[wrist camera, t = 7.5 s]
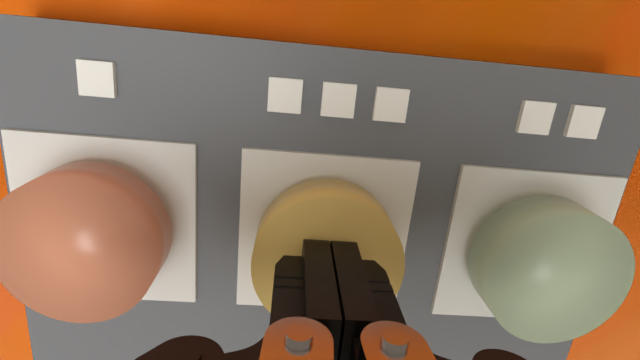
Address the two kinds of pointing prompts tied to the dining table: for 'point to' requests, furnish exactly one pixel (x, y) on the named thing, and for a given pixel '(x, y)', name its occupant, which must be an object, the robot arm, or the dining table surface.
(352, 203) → the ochre button
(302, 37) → the dining table surface
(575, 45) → the dining table surface
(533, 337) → the sage button
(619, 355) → the dining table surface
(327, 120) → the button panel
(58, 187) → the terracotta button
